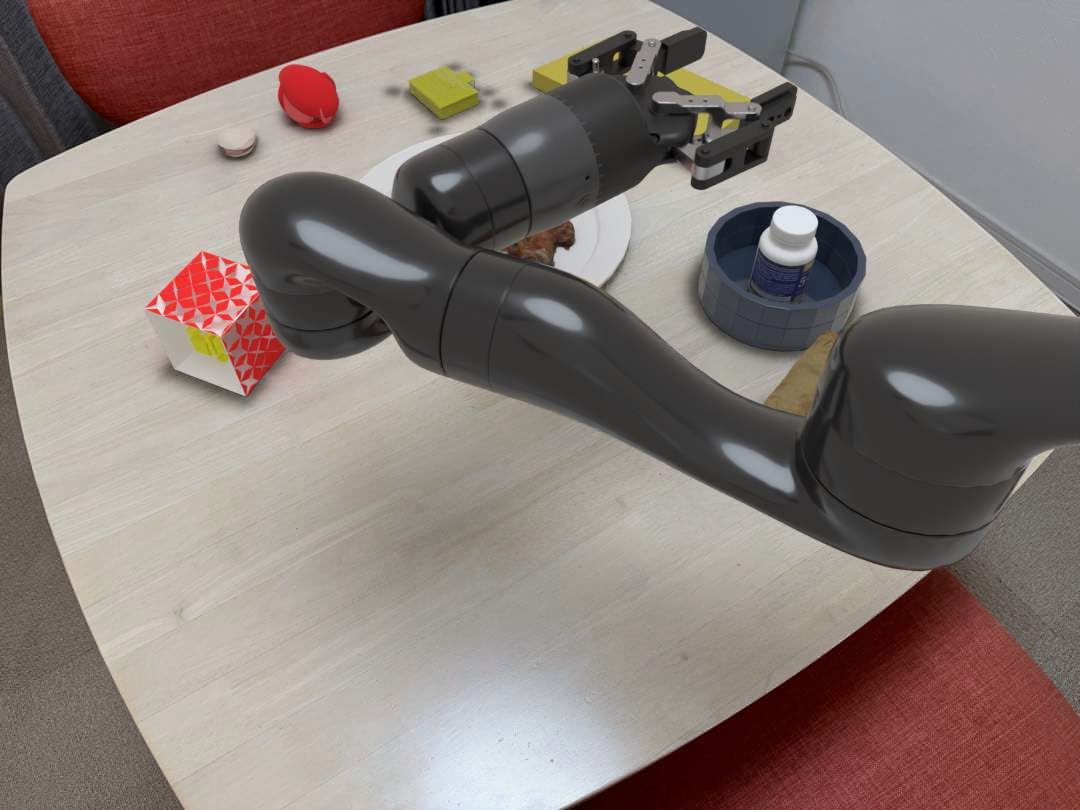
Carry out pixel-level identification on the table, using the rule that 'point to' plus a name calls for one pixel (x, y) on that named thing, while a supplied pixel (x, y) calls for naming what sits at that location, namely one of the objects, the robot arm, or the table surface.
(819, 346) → the rock
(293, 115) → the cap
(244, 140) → the macaroon
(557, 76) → the flat olive board
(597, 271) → the plated food
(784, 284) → the pill bottle
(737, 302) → the pot
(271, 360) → the red patterned cube
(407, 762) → the table surface
